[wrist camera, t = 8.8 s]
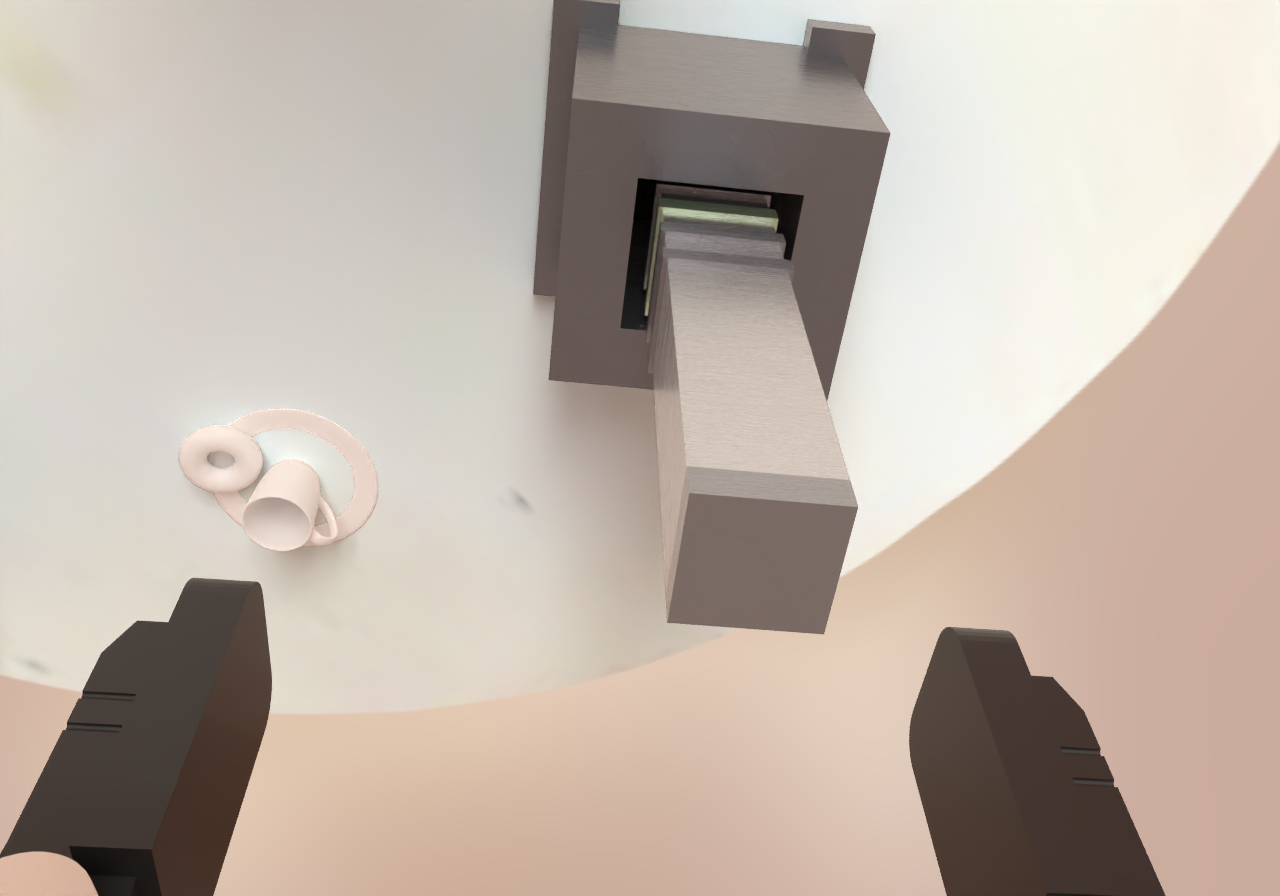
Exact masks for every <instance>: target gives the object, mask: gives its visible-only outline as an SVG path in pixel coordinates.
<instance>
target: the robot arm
mask: <svg viewBox="0 0 1280 896" xmlns="http://www.w3.org/2000/svg"><path fill="white" fill-rule="evenodd" d="M271 691H272V674H271V664H270V655H269V646H268V637H267V628H266V619H265V610H264V601H263V593H262V588H261V586H260V584H259V583H258V582H251V581H235V580H219V579H203V578H191V579H190V580H189V581H188V582H187V583H186V585H185V587H184V589H183V591H182V593H181V595H180V598H179V600H178V602H177V604H176V607H175V609H174V611H173V613H172V615H171V618H170V620H169V622H151V621H136V622H135V623H134V624H133V625H132V626H131V627H130V628H129V629H127V630H126V631H125V632H124V633H123V634H122V635H121V636H120V637H119V638H117V639H116V640H115V641H114V642H113V643H112V644H111V645H110V646H109V647H108V648H106V649H105V650H104V651H103V652H102V653H101V655H100V657H99V659H98V661H97V663H96V665H95V667H94V669H93V671H92V673H91V675H90V677H89V679H88V681H87V683H86V685H85V687H84V689H83V695H82V698H81V699H78V701H77V703H76V705H75V707H74V709H73V711H72V713H71V715H70V717H69V719H68V721H67V728H66V730H63V731H62V733H61V735H60V737H59V739H58V741H57V743H56V745H55V747H54V749H53V751H52V753H51V755H50V757H49V760H48V761H47V763H46V765H45V767H44V769H43V772H42V773H41V775H40V778H39V779H38V781H37V783H36V785H35V787H34V790H33V791H32V793H31V795H30V797H29V799H28V802H27V803H26V805H25V808H24V809H23V811H22V814H21V815H20V818H19V819H18V821H17V823H16V825H15V828H14V830H13V832H12V834H11V836H10V838H9V840H8V842H7V844H6V845H5V847H4V849H3V850H2V852H1V854H0V896H213V894H214V891H215V888H216V885H217V882H218V878H219V875H220V872H221V869H222V865H223V862H224V859H225V856H226V853H227V849H228V846H229V843H230V840H231V837H232V834H233V830H234V827H235V824H236V821H237V818H238V815H239V811H240V808H241V805H242V802H243V799H244V796H245V792H246V789H247V786H248V783H249V780H250V776H251V773H252V770H253V767H254V763H255V760H256V757H257V754H258V751H259V748H260V745H261V741H262V738H263V735H264V731H265V728H266V725H267V720H268V715H269V709H270V702H271ZM909 736H910V737H909V742H910V743H909V746H910V757H911V763H912V767H913V771H914V775H915V779H916V783H917V786H918V790H919V794H920V797H921V801H922V805H923V808H924V812H925V816H926V820H927V823H928V827H929V831H930V835H931V838H932V842H933V846H934V850H935V853H936V857H937V861H938V865H939V868H940V872H941V876H942V879H943V883H944V887H945V891H946V894H947V896H1165V894H1164V891H1163V889H1162V887H1161V885H1160V882H1159V880H1158V878H1157V876H1156V873H1155V871H1154V869H1153V866H1152V864H1151V862H1150V860H1149V857H1148V855H1147V853H1146V850H1145V848H1144V846H1143V844H1142V842H1141V839H1140V837H1139V835H1138V832H1137V830H1136V828H1135V826H1134V823H1133V821H1132V819H1131V817H1130V814H1129V812H1128V810H1127V807H1126V805H1125V803H1124V801H1123V798H1122V796H1121V794H1120V792H1119V789H1118V788H1117V787H1114V778H1113V776H1112V774H1111V771H1110V769H1109V767H1108V765H1107V762H1106V760H1105V758H1104V756H1101V755H1100V746H1099V744H1098V742H1097V740H1096V737H1095V735H1094V733H1093V730H1092V728H1091V726H1090V724H1089V722H1088V719H1087V717H1086V715H1085V712H1084V711H1083V710H1082V709H1081V707H1080V706H1079V705H1078V704H1077V703H1076V702H1075V701H1074V700H1073V699H1072V698H1071V697H1070V696H1069V695H1068V693H1067V692H1066V691H1065V690H1064V689H1063V688H1062V687H1061V686H1060V685H1059V684H1058V683H1057V682H1056V681H1055V679H1054V678H1053V677H1043V676H1031V675H1030V672H1029V669H1028V667H1027V665H1026V662H1025V660H1024V657H1023V655H1022V652H1021V650H1020V647H1019V645H1018V642H1017V640H1016V638H1015V637H1014V636H1013V634H1012V633H1010V632H1009V631H1004V630H989V629H988V630H987V629H972V628H956V627H947V628H945V629H944V630H943V631H942V632H941V634H940V636H939V638H938V641H937V644H936V647H935V649H934V652H933V655H932V658H931V661H930V664H929V667H928V669H927V673H926V675H925V678H924V681H923V684H922V687H921V690H920V693H919V695H918V698H917V701H916V704H915V707H914V710H913V714H912V718H911V724H910V734H909Z"/></svg>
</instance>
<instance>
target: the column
mask: <svg viewBox="0 0 1280 896" xmlns="http://www.w3.org/2000/svg"><path fill="white" fill-rule="evenodd" d="M770 200H771V193H770V192H768V191H759V190H749V189H739V188H730V187H720V186H711V185H701V184H692V183H682V182H672V181H663V180H656V182H655V190H654V198H653V206H652V214H651V222H650V230H649V238H648V245H647V253H646V261H645V269H644V277H643V289H646V295H645V302H644V311H645V316H648V318H647V325H646V343H649V350H648V358H647V373H653V380H654V398H655V415H656V433H657V451H658V468H659V486H660V503H661V521H662V539H663V556H664V574H665V591H666V609H667V623H680V624H693V625H707V626H720V627H734V628H748V629H762V630H774V631H789V632H802V633H815V634H824V632H825V628H826V624H827V621H828V617H829V613H830V610H831V606H832V602H833V598H834V595H835V591H836V587H837V583H838V580H839V576H840V572H841V569H842V565H843V561H844V558H845V554H846V550H847V546H848V543H849V539H850V535H851V532H852V528H853V524H854V520H855V517H856V513H857V509H858V505H857V502H856V498H855V495H854V492H853V488H852V485H851V482H850V478H849V475H848V472H847V468H846V465H845V462H844V458H843V455H842V452H841V448H840V445H839V442H838V438H837V435H836V431H835V428H834V425H833V421H832V418H831V415H830V411H829V408H828V405H827V401H826V398H825V395H824V391H823V388H822V385H821V381H820V378H819V375H818V371H817V368H816V365H815V361H814V358H813V354H812V351H811V348H810V344H809V341H808V338H807V334H806V331H805V328H804V324H803V321H802V318H801V314H800V311H799V308H798V304H797V301H796V298H795V294H794V291H793V288H792V280H793V275H794V267H793V264H792V261H791V260H784V257H783V256H784V251H785V246H786V241H785V238H784V235H783V234H778V233H776V230H777V224H778V216H777V212H776V210H775V209H769V206H770Z"/></svg>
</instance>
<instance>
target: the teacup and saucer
mask: <svg viewBox="0 0 1280 896" xmlns="http://www.w3.org/2000/svg"><path fill="white" fill-rule="evenodd" d="M280 428H289V429H298V430H303V431H306V432H310V433H312V434H315V435H317V436H319V437H321V438H323V439H325V440H326V441H328V442H329V443H331V444H332V445H333V446H335V447H336V448H337V449H338V450H339V451H340V452H341V453H342V454H343V456H344V457H345V458H346V460H347V461H348V463H349V465H350V467H351V469H352V472H353V476H354V482H355V488H354V494H353V497H352V500H351V502H350V504H349V505H348V507H347V508H346V509H345V511H344V512H343V513H342V514H340V515H339V516H338V517H336V518H335V517H334V514H333V512H332V510H331V509H330V507H329V505H328V504H327V502H326V501H325V499H324V498H323V497H322V496H321V494H320V482H319V478H318V475H317V473H316V472H315V470H314V469H313V468H312V467H311V466H310V465H309V464H307V463H305V462H303V461H300V460H295V459H289V460H284V461H281V462H279V463H277V464H276V465H274V466H273V467H272V468H270V469H269V470H268V471H267V473H266V474H265V475H264V476H263V478H262V479H261V481H260V482H259V484H258V485H257V487H256V489H255V490H254V492H253V494H252V495H251V497H250V499H249V501H248V503H246V502H245V500H244V499H243V498H242V497H241V495H240V493H239V492H238V491H239V490H242V489H244V488H246V487H247V486H249V485H250V484H252V483H253V482H254V481H255V480H256V478H257V477H258V476H259V474H260V472H261V469H262V466H263V457H262V453H261V451H260V448H259V446H258V444H257V443H256V442H255V440H254V439H253V438H252V437H253V436H255V435H257V434H259V433H261V432H264V431H268V430H272V429H280ZM209 453H210V454H209ZM208 454H209V458H208V459H207V456H208ZM178 458H179V465H180V467H181V470H182V472H183V473H184V475H185V476H186V478H187V479H188V480H190V481H191V482H192V483H193V484H195V485H196V486H198V487H200V488H202V489H204V490H207V491H211V492H213V493H214V495H215V497H216V499H217V500H218V502H219V503H220V505H221V506H222V508H223V509H224V510H225V511H226V512H227V513H228V514H229V515H230V516H231V517H232V518H233V519H234V520H235V521H236V522H237V523H239V524H240V525H241V526H243V529H244V531H245V532H246V534H247V535H248V537H249V538H250V539H251V540H252V541H254V542H255V543H256V544H258V545H260V546H262V547H264V548H266V549H269V550H273V551H291V550H294V549H297V548H299V547H301V546H318V545H320V546H326V545H329V544H331V543H332V542H335V541H338V540H340V539H343V538H345V537H347V536H348V535H350V534H352V533H353V532H355V531H356V530H357V529H358V528H360V527H361V526H362V525H363V524H364V523H365V521H366V520H367V519H368V518H369V516H370V514H371V513H372V511H373V509H374V506H375V503H376V500H377V495H378V480H377V474H376V470H375V467H374V465H373V462H372V460H371V458H370V457H369V455H368V453H367V452H366V450H365V449H364V447H363V446H362V445H361V444H360V443H359V442H358V440H357V439H356V438H355V437H353V436H352V435H351V434H350V433H349V432H348V431H346V430H345V429H344V428H342V427H341V426H339V425H338V424H336V423H334V422H332V421H330V420H328V419H326V418H324V417H322V416H319V415H316V414H313V413H310V412H306V411H302V410H296V409H287V408H274V409H265V410H260V411H256V412H252V413H249V414H247V415H244V416H242V417H240V418H238V419H236V420H235V421H233V422H232V423H230V424H229V425H228V426H227V425H211V426H206V427H203V428H200V429H198V430H196V431H194V432H193V433H192V434H190V435H189V436H188V437H187V438H186V439H185V440H184V441H183V443H182V445H181V447H180V450H179V457H178ZM234 459H235V463H234ZM233 463H234V464H233ZM318 506H319V507H320V509H321V510H322V512H323V514H324V516H325V517H326V520H327V523H324V524H321V525H317V526H314V524H315V519H316V515H317V511H318Z"/></svg>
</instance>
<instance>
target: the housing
mask: <svg viewBox="0 0 1280 896" xmlns="http://www.w3.org/2000/svg"><path fill="white" fill-rule="evenodd" d="M619 7H620V0H554V10H553V24H552V38H551V52H550V66H549V80H548V94H547V108H546V122H545V136H544V150H543V165H542V179H541V193H540V207H539V221H538V235H537V249H536V263H535V277H534V291H533V294H536V295H546V296H556V299H555V311H554V323H553V335H552V347H551V359H550V372H549V380H555V381H566V382H577V383H588V384H599V385H610V386H621V387H632V388H643V389H654V380H653V373H647V358H648V350H649V343H646V325H647V318H648V316H645V311H644V302H645V295H646V289H643V277H644V269H645V261H646V253H647V245H648V238H649V230H650V222H651V221H647V220H637V219H633V217H634V208H635V200H636V191H637V183H638V178H644V179H653V180H663V181H672V182H682V183H692V184H701V185H711V186H720V187H730V188H739V189H749V190H759V191H768V192H770V193H771V200H770V206H769V209H775V210H776V212H777V216H778V224H777V230H776V233H778V234H783V235H784V238H785V241H786V246H785V251H784V256H783V257H784V260H791V261H792V264H793V267H794V275H793V280H792V288H793V291H794V294H795V298H796V301H797V304H798V308H799V311H800V314H801V318H802V321H803V324H804V328H805V331H806V334H807V338H808V341H809V344H810V348H811V351H812V354H813V358H814V361H815V365H816V368H817V371H818V375H819V378H820V381H821V385H822V388H823V391H824V395H825V398H826V401H827V399H828V395H829V391H830V386H831V382H832V378H833V374H834V369H835V365H836V361H837V357H838V352H839V348H840V344H841V340H842V336H843V331H844V327H845V323H846V319H847V314H848V310H849V306H850V302H851V297H852V293H853V289H854V285H855V281H856V276H857V272H858V268H859V264H860V259H861V255H862V251H863V247H864V242H865V238H866V234H867V230H868V226H869V221H870V217H871V213H872V209H873V204H874V200H875V196H876V192H877V187H878V183H879V179H880V175H881V171H882V166H883V162H884V158H885V154H886V149H887V145H888V141H889V137H890V132H889V130H888V128H887V127H886V125H885V124H884V122H883V120H882V119H881V117H880V116H879V114H878V112H877V111H876V109H875V108H874V106H873V104H872V103H871V101H870V100H869V98H868V96H867V95H866V93H865V92H864V85H865V81H866V76H867V71H868V67H869V62H870V58H871V53H872V49H873V44H874V39H875V35H876V34H875V33H874V31H873V30H872V29H871V28H870V26H861V25H853V24H844V23H836V22H827V21H819V20H810V19H808V22H807V27H806V33H805V38H804V43H803V46H798V45H789V44H780V43H771V42H763V41H754V40H745V39H737V38H728V37H719V36H710V35H702V34H693V33H684V32H675V31H667V30H658V29H649V28H641V27H632V26H623V25H618V17H619Z"/></svg>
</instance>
